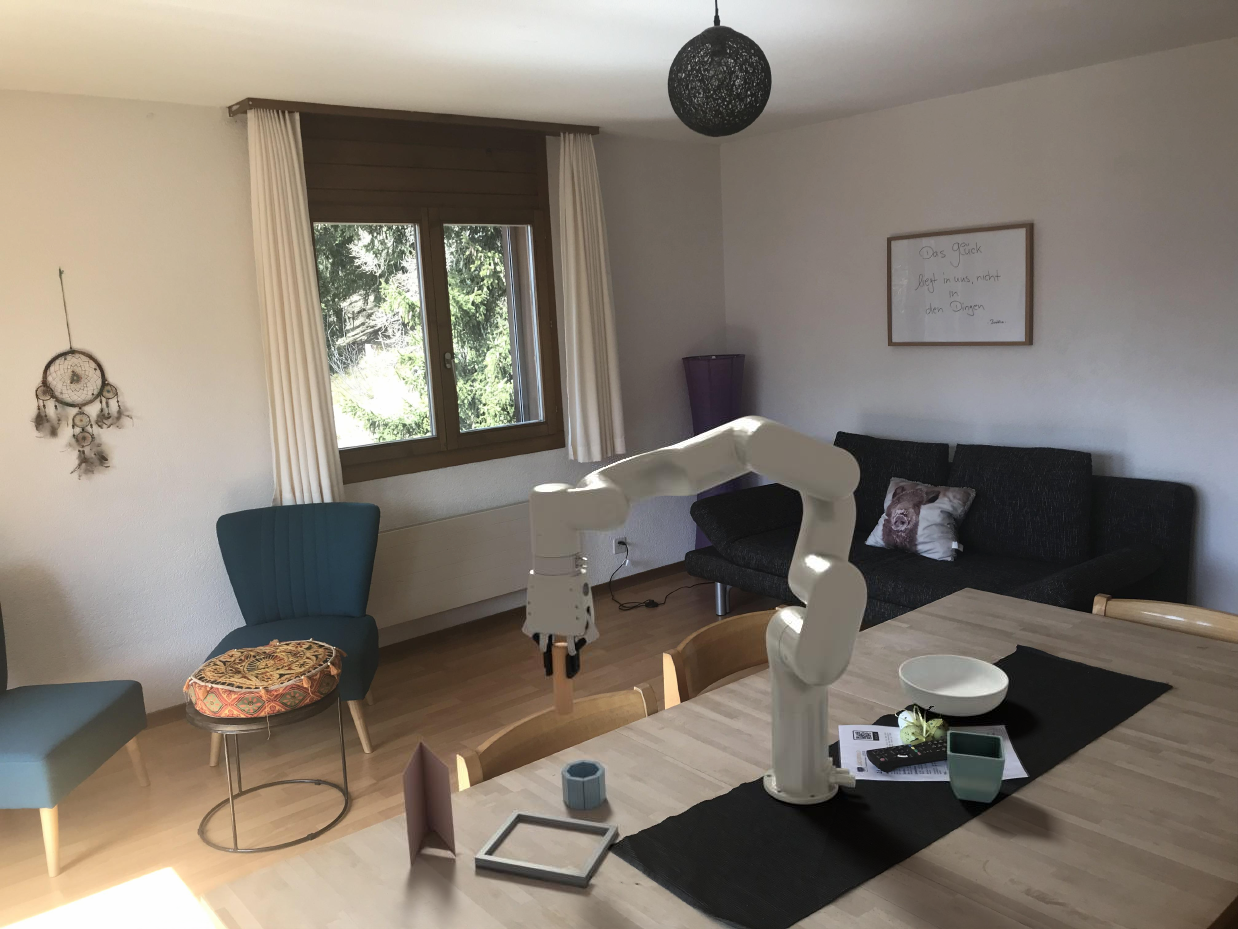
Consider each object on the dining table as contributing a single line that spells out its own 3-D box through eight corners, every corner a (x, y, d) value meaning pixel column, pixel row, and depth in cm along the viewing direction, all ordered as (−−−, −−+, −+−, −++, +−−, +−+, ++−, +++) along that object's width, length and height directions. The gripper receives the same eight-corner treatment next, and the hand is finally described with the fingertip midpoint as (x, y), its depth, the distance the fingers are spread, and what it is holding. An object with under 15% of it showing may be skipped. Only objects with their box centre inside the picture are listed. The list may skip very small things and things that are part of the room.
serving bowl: (893, 721, 186) (893, 688, 184) (903, 680, 205) (904, 650, 204) (1007, 735, 178) (1008, 700, 177) (1007, 691, 197) (1008, 660, 196)
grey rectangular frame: (618, 836, 150) (617, 826, 150) (585, 888, 137) (584, 877, 137) (516, 819, 156) (515, 809, 156) (475, 868, 143) (474, 857, 143)
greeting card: (422, 825, 156) (415, 740, 153) (467, 824, 156) (460, 739, 153) (405, 866, 145) (396, 775, 142) (453, 865, 144) (445, 774, 142)
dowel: (576, 708, 153) (573, 643, 151) (568, 716, 150) (565, 650, 148) (559, 706, 154) (556, 641, 152) (551, 713, 151) (548, 648, 149)
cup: (610, 795, 162) (608, 763, 161) (596, 816, 156) (594, 782, 155) (574, 790, 165) (572, 758, 164) (558, 810, 158) (556, 777, 157)
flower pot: (1001, 784, 160) (1002, 735, 159) (1004, 811, 152) (1005, 759, 150) (946, 778, 163) (947, 729, 162) (946, 804, 155) (947, 753, 153)
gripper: (614, 560, 148) (618, 671, 151) (521, 553, 154) (527, 660, 157) (595, 573, 141) (600, 689, 144) (499, 566, 147) (505, 677, 150)
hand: (562, 673), depth 151 cm, fingers closed on dowel, 3 cm apart
